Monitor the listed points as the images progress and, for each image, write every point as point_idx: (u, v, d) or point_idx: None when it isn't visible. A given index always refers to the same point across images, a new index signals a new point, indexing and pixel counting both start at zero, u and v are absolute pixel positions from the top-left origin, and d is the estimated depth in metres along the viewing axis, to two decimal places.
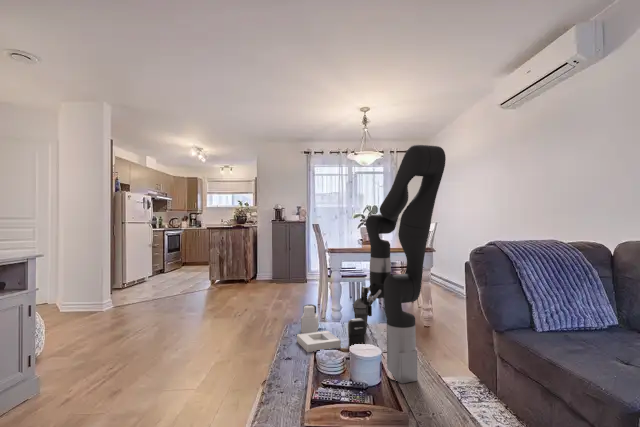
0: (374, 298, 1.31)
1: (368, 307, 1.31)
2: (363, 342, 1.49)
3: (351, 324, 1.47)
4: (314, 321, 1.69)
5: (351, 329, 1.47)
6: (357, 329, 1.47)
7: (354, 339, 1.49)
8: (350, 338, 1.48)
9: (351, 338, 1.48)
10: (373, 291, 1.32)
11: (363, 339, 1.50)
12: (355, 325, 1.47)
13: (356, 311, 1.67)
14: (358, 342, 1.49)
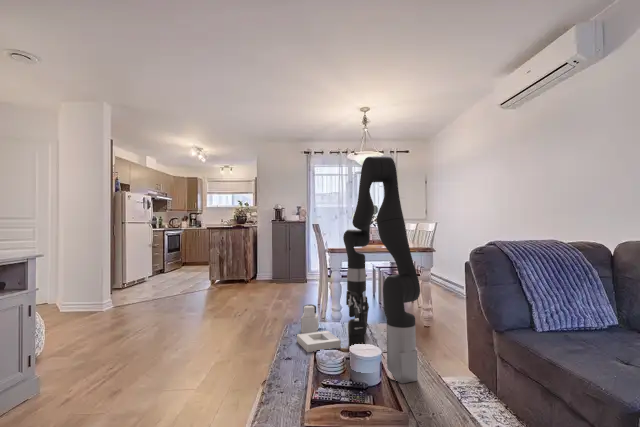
0: None
1: (363, 314, 1.45)
2: (363, 342, 1.49)
3: (351, 324, 1.47)
4: (314, 321, 1.69)
5: (351, 329, 1.47)
6: (357, 329, 1.47)
7: (354, 339, 1.49)
8: (350, 338, 1.48)
9: (351, 338, 1.48)
10: None
11: (363, 339, 1.50)
12: (355, 325, 1.47)
13: (356, 311, 1.67)
14: (358, 342, 1.49)
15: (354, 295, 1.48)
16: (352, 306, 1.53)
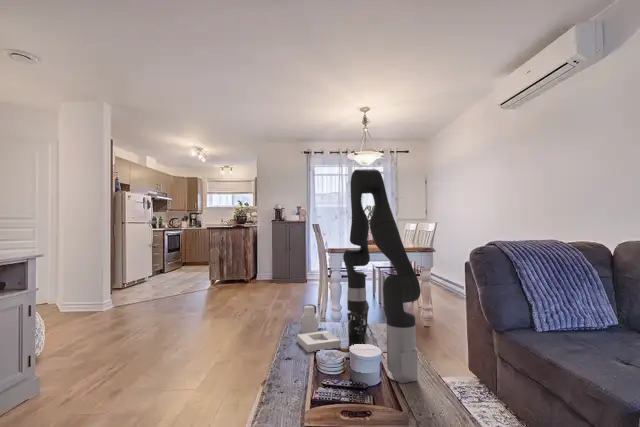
0: None
1: (361, 335, 1.46)
2: (363, 342, 1.49)
3: (351, 324, 1.47)
4: (314, 321, 1.69)
5: (351, 329, 1.47)
6: None
7: (354, 339, 1.49)
8: (350, 338, 1.48)
9: (351, 338, 1.48)
10: None
11: (363, 339, 1.50)
12: None
13: None
14: None
15: (354, 315, 1.48)
16: None
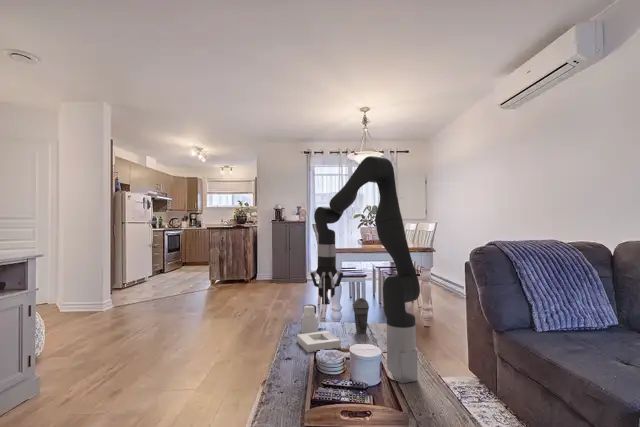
0: None
1: None
2: None
3: (330, 280, 1.50)
4: (314, 321, 1.69)
5: (330, 284, 1.50)
6: None
7: (326, 295, 1.52)
8: (326, 294, 1.50)
9: (326, 294, 1.50)
10: None
11: None
12: None
13: (356, 311, 1.67)
14: (326, 297, 1.53)
15: (327, 271, 1.52)
16: None
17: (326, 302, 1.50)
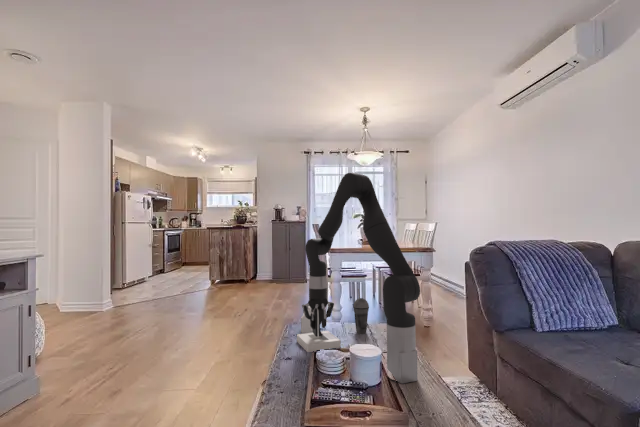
0: None
1: None
2: None
3: (323, 311, 1.51)
4: None
5: (323, 316, 1.51)
6: None
7: None
8: None
9: None
10: None
11: None
12: None
13: (356, 311, 1.67)
14: None
15: (320, 302, 1.53)
16: None
17: (320, 334, 1.51)
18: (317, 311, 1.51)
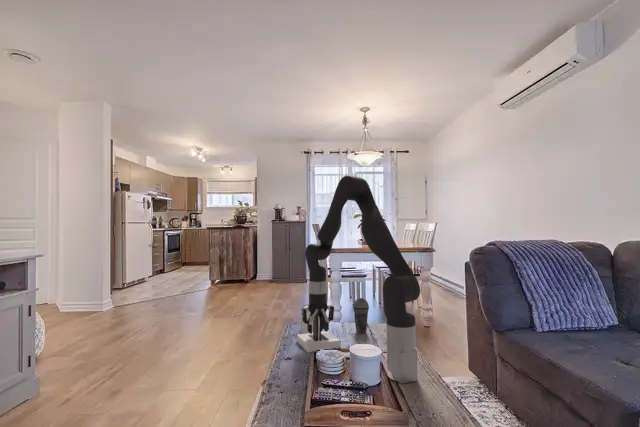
0: None
1: None
2: None
3: (324, 319, 1.51)
4: None
5: (324, 323, 1.51)
6: None
7: None
8: None
9: None
10: None
11: None
12: None
13: (356, 311, 1.67)
14: None
15: (319, 307, 1.53)
16: None
17: None
18: (318, 318, 1.50)
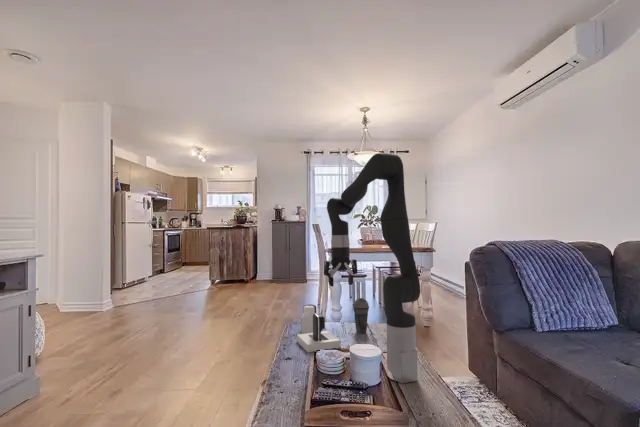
0: None
1: None
2: None
3: (323, 319, 1.51)
4: None
5: (324, 323, 1.51)
6: None
7: None
8: None
9: None
10: None
11: None
12: None
13: (356, 311, 1.67)
14: None
15: (342, 261, 1.53)
16: None
17: None
18: (318, 319, 1.50)
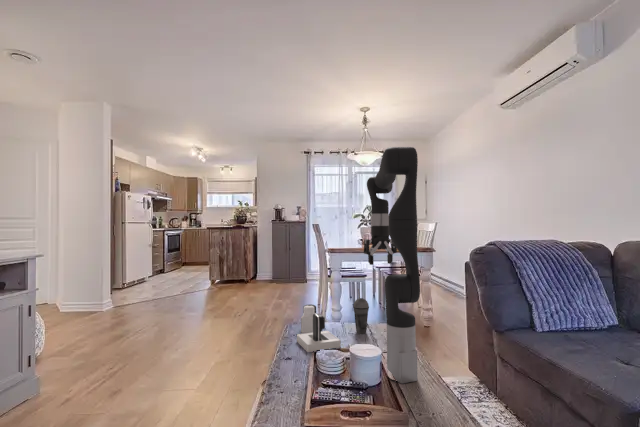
0: None
1: None
2: None
3: (323, 319, 1.51)
4: None
5: (324, 323, 1.51)
6: None
7: None
8: None
9: None
10: None
11: None
12: None
13: (356, 311, 1.67)
14: None
15: (382, 240, 1.53)
16: None
17: None
18: (318, 319, 1.50)
